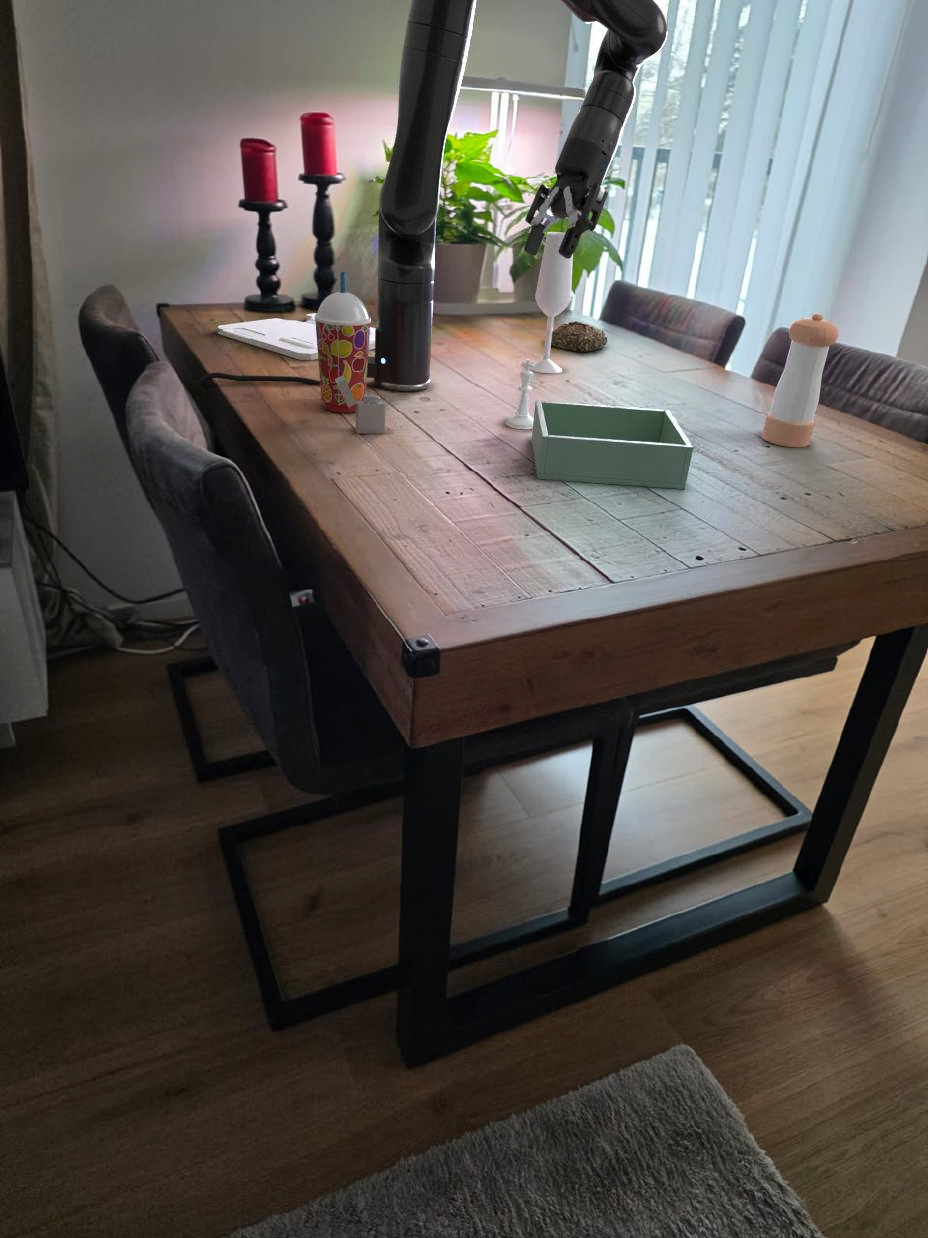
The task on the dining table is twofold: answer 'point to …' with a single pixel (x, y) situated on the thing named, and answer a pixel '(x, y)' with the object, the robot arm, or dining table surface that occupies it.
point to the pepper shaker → (800, 383)
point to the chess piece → (523, 402)
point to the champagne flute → (552, 293)
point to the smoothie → (342, 347)
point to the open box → (609, 445)
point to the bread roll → (578, 337)
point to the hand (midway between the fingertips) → (546, 254)
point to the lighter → (365, 409)
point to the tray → (282, 336)
